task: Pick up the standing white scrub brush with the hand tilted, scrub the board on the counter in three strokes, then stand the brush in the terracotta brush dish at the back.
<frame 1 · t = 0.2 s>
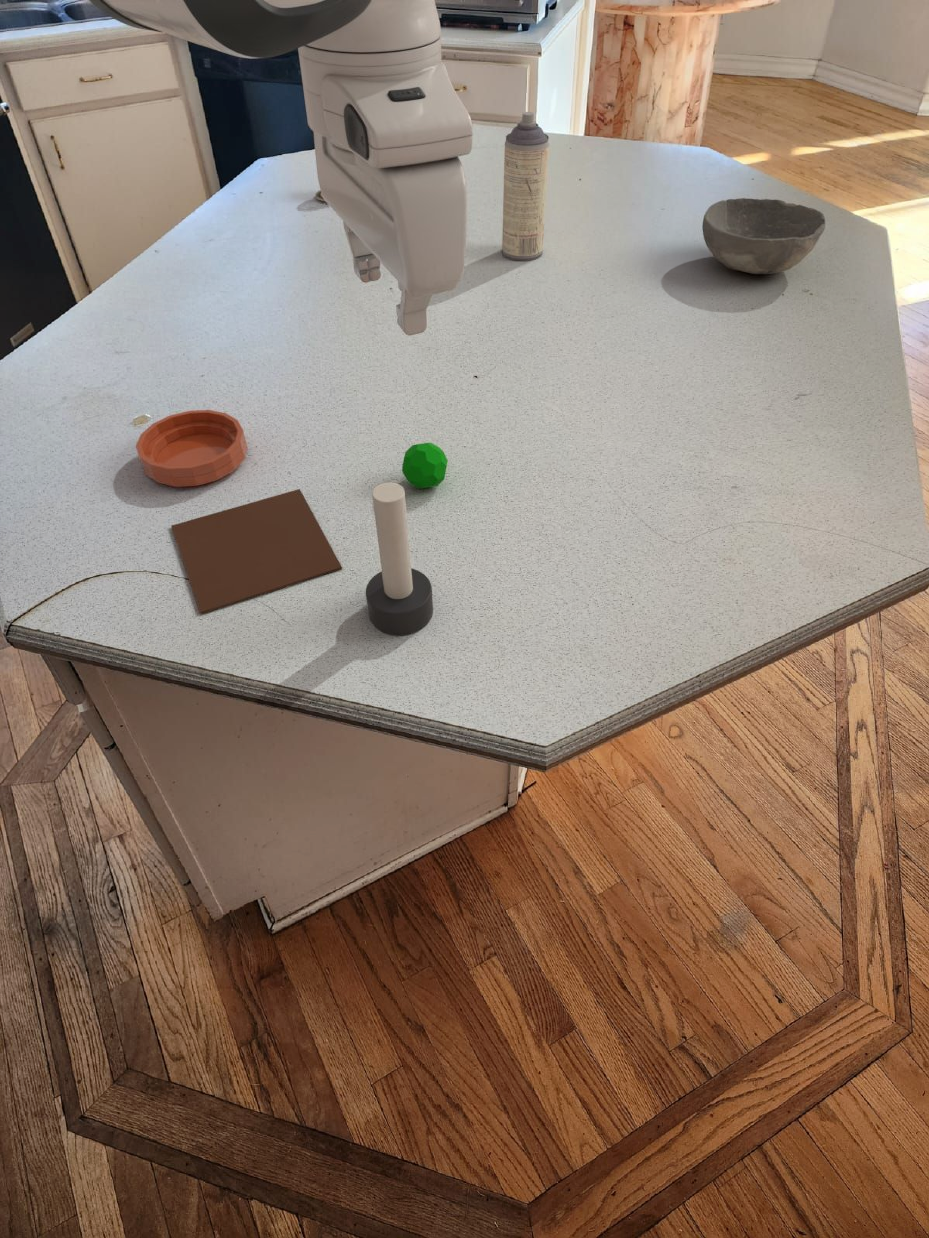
hand: (389, 303, 59), 25 cm above the table, tool pointing down, fingers open, 8 cm apart
aerosol can: (522, 254, 127), on the table
board: (254, 547, 77), on the table
apple: (336, 198, 146), on the table
brush: (401, 611, 71), on the table
polyhedron: (426, 485, 84), on the table
bowl: (750, 268, 122), on the table
brush dish: (197, 460, 88), on the table
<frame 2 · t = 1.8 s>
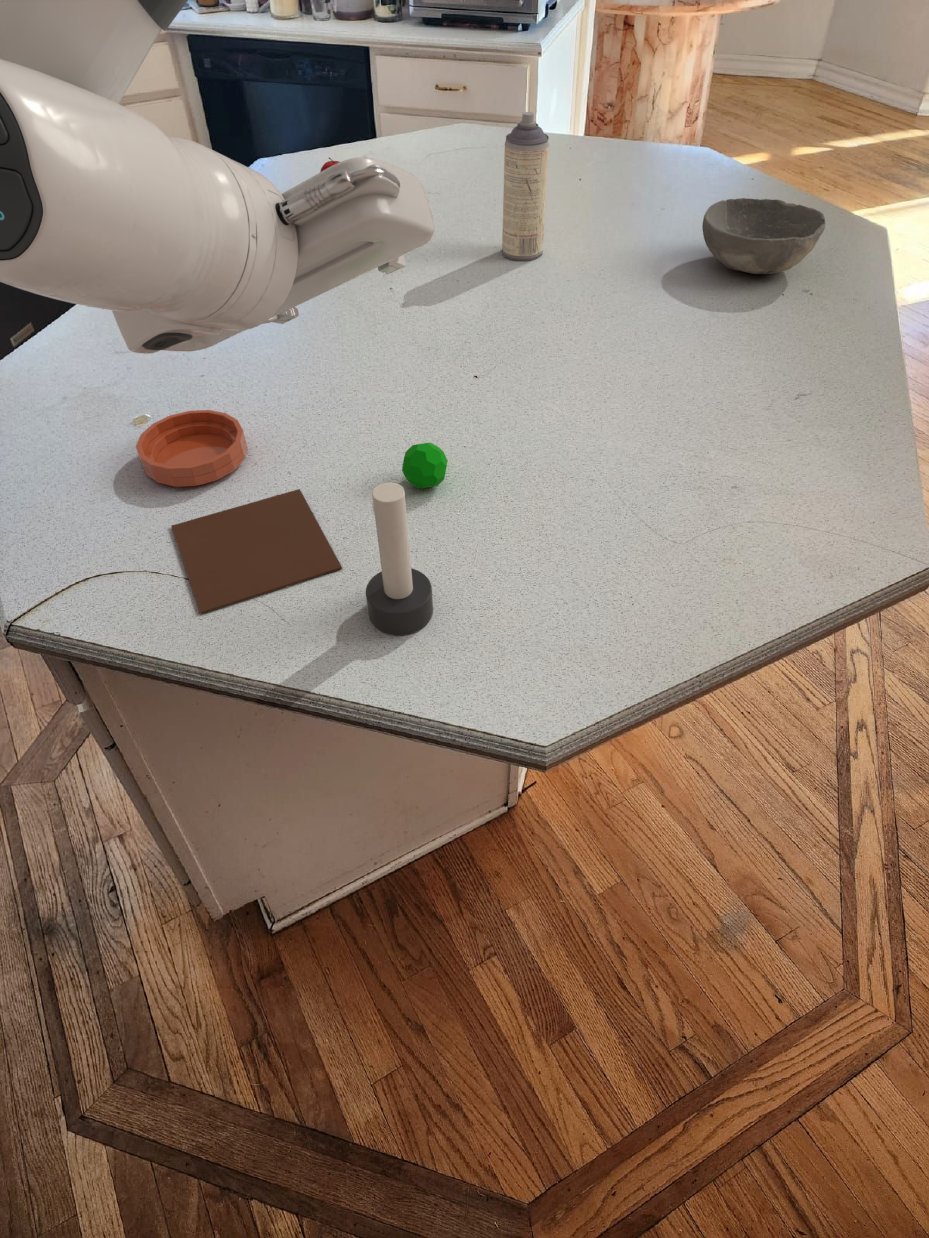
hand: (340, 285, 55), 28 cm above the table, tool tilted 60°, fingers open, 8 cm apart
nothing on the table moved.
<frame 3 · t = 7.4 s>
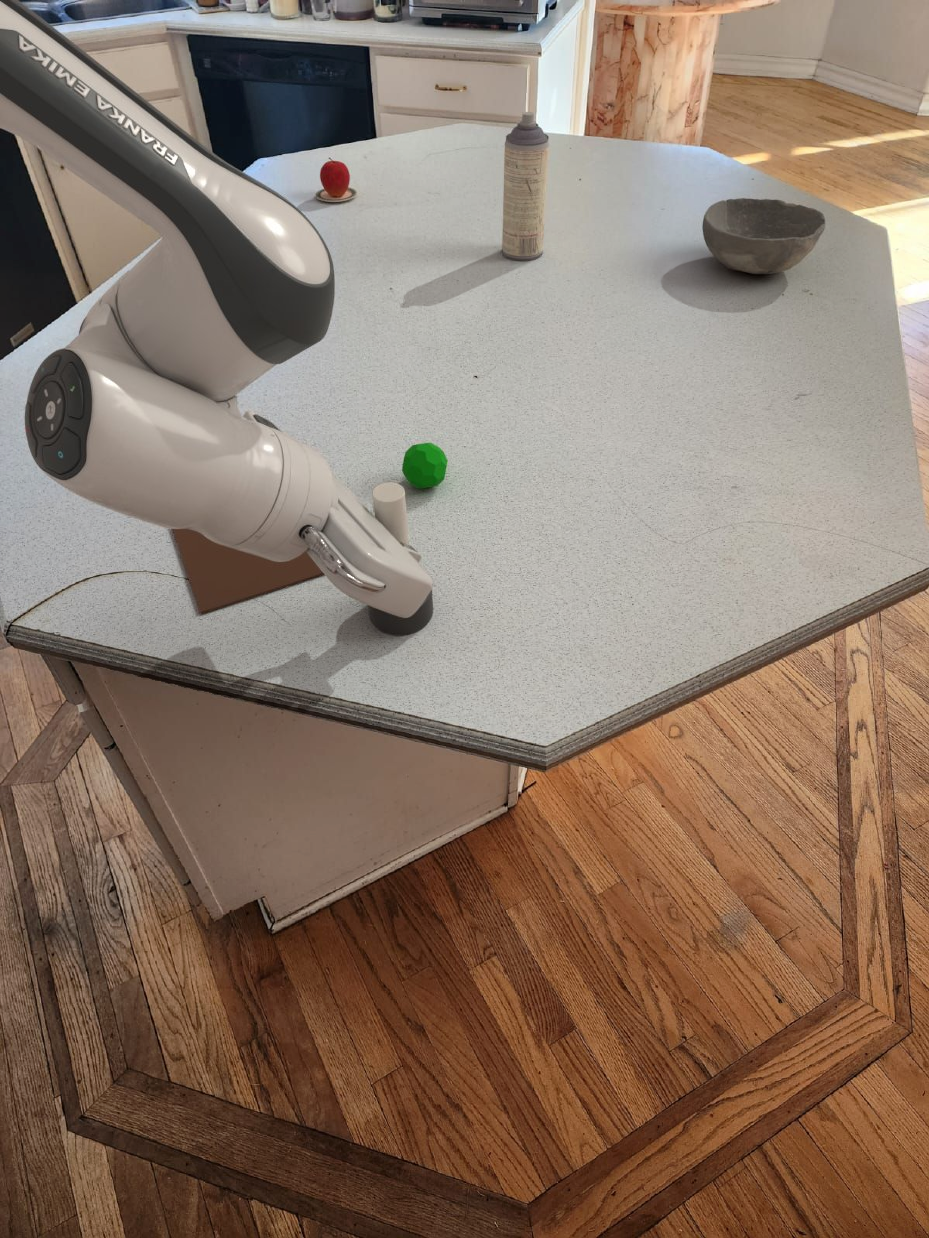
hand: (400, 547, 65), 8 cm above the table, tool tilted 45°, fingers closed on brush, 2 cm apart
brush: (401, 611, 71), on the table, touching gripper
everything else where it was.
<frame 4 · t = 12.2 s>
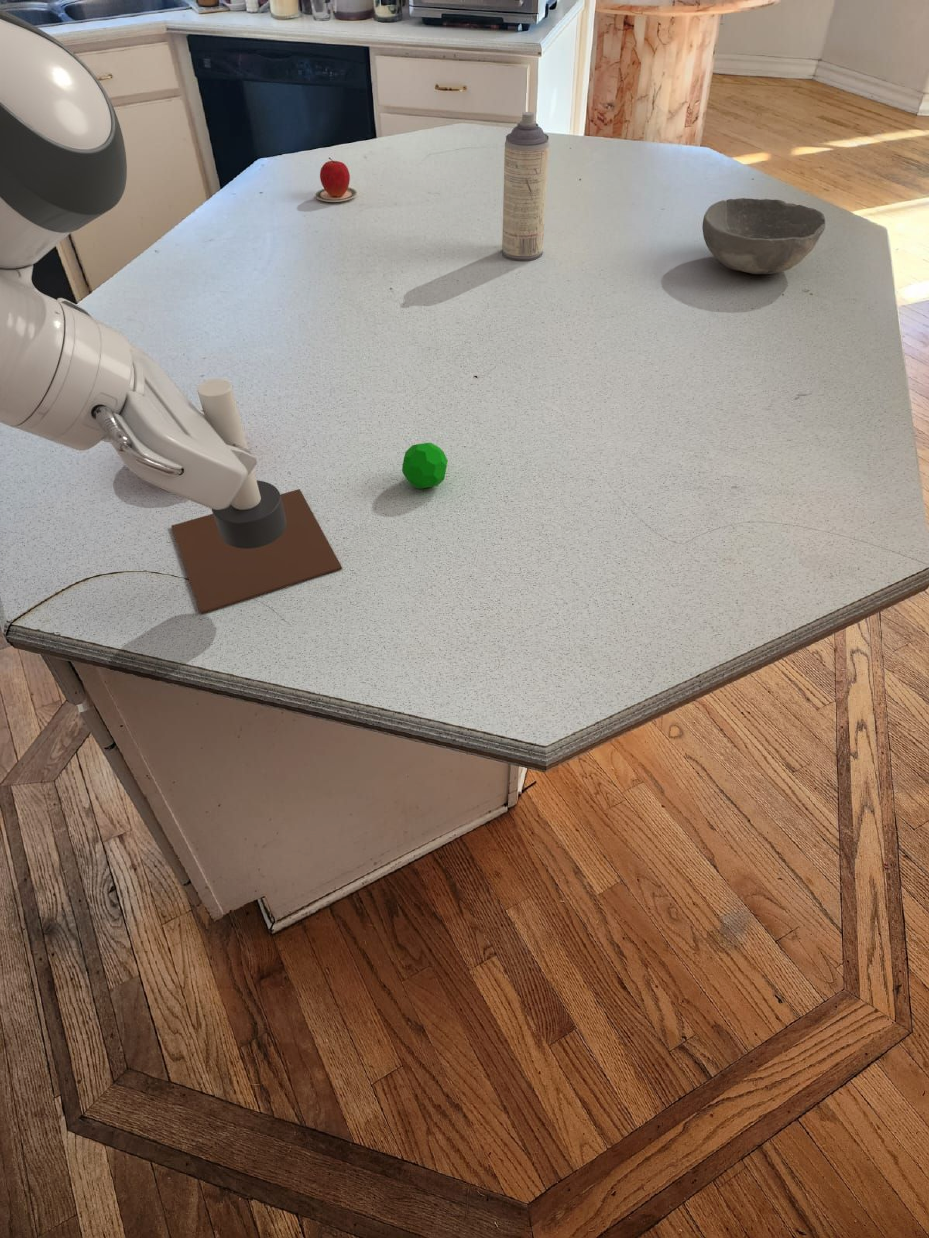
hand: (239, 452, 63), 15 cm above the table, tool tilted 45°, fingers closed on brush, 2 cm apart
brush: (253, 526, 68), point 7 cm above the table, touching gripper
everything else where it was.
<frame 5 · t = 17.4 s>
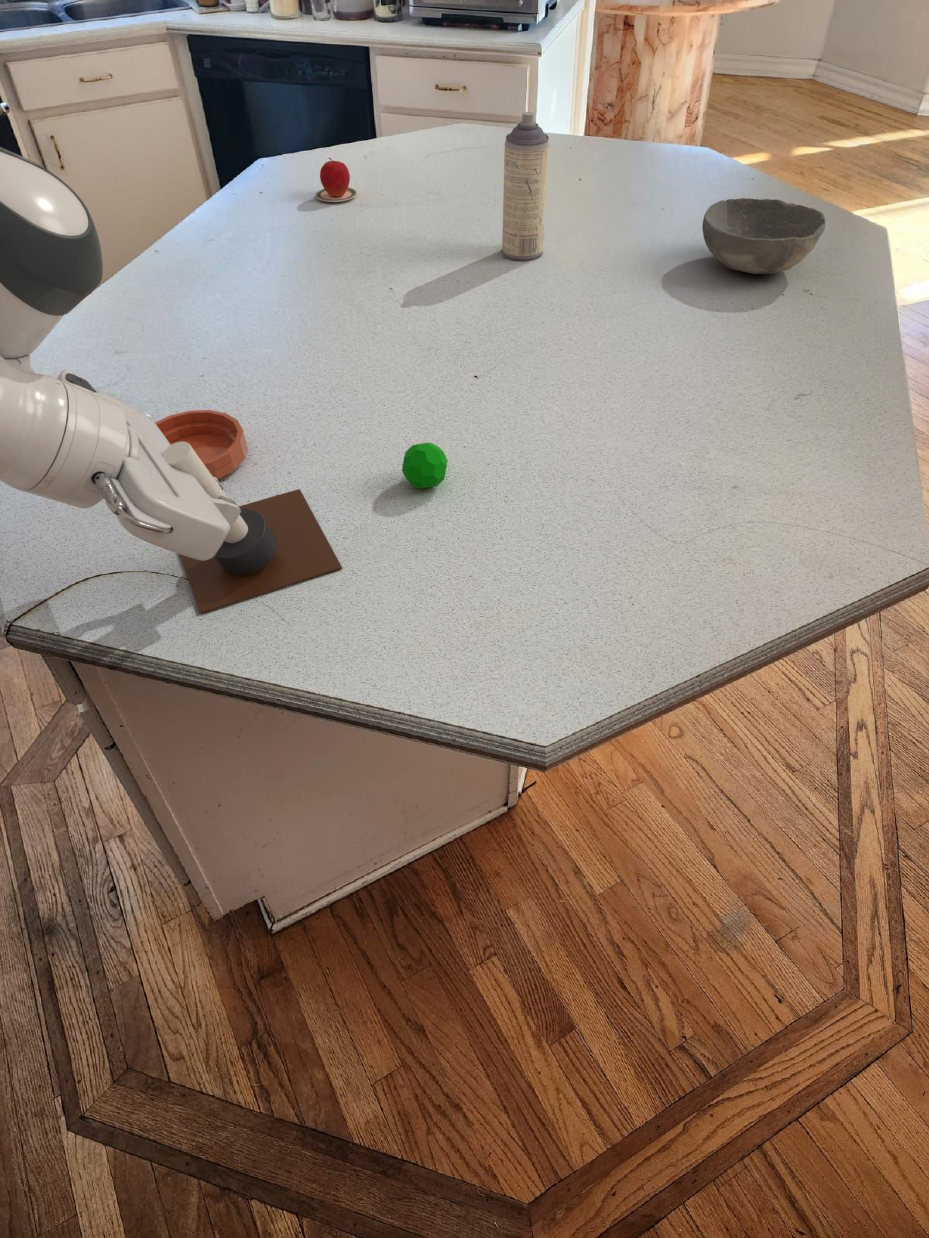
hand: (226, 501, 70), 8 cm above the table, tool tilted 45°, fingers closed on brush, 3 cm apart
brush: (249, 551, 75), point 1 cm above the table, tilted 15°, touching gripper, board
everything else where it was.
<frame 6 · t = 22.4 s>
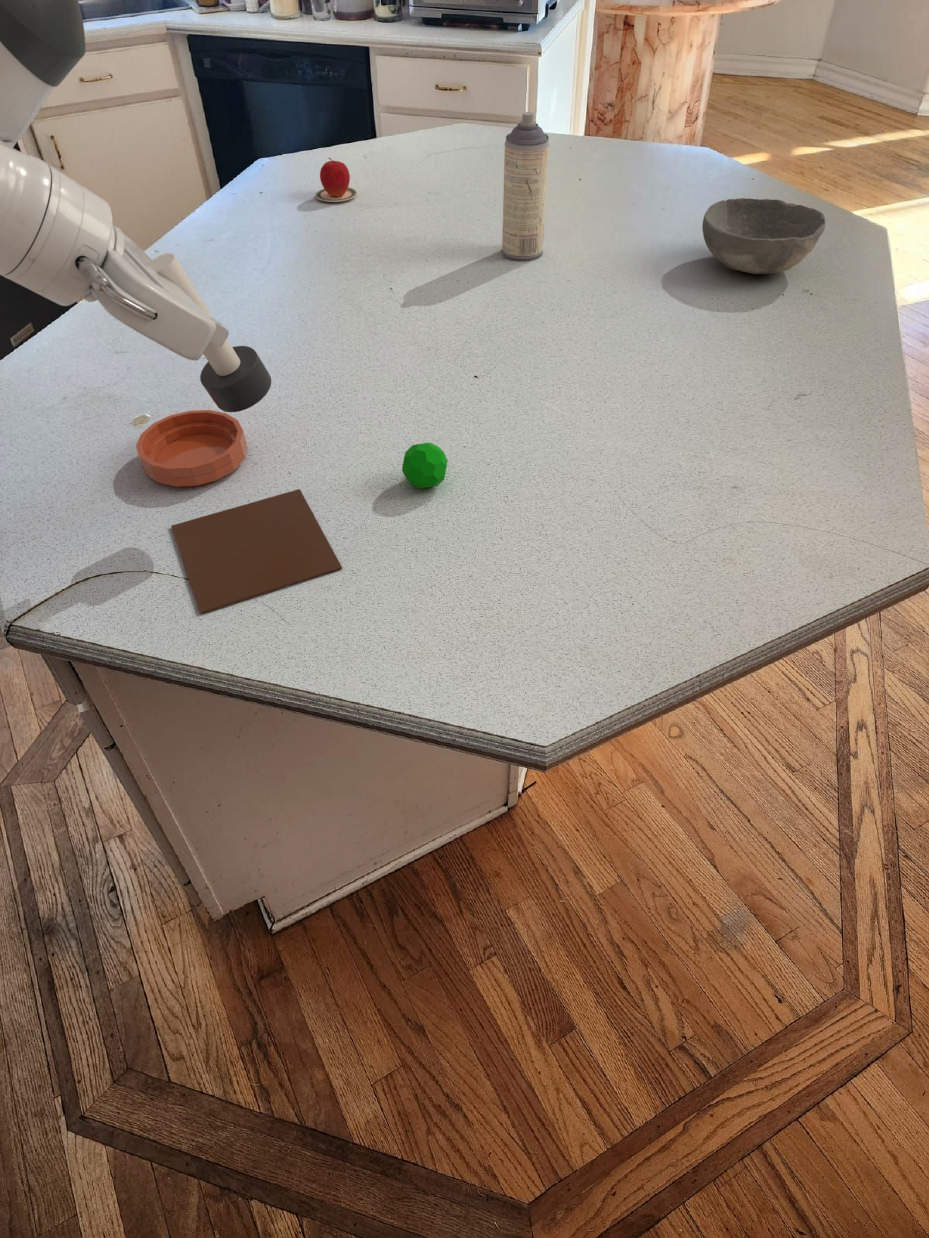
hand: (214, 328, 69), 19 cm above the table, tool tilted 45°, fingers closed on brush, 2 cm apart
brush: (243, 390, 75), point 12 cm above the table, tilted 18°, touching gripper
everything else where it was.
when the fingers open (8 cm above the table, at t = 27.4 s): brush stays where it is, resting on brush dish.
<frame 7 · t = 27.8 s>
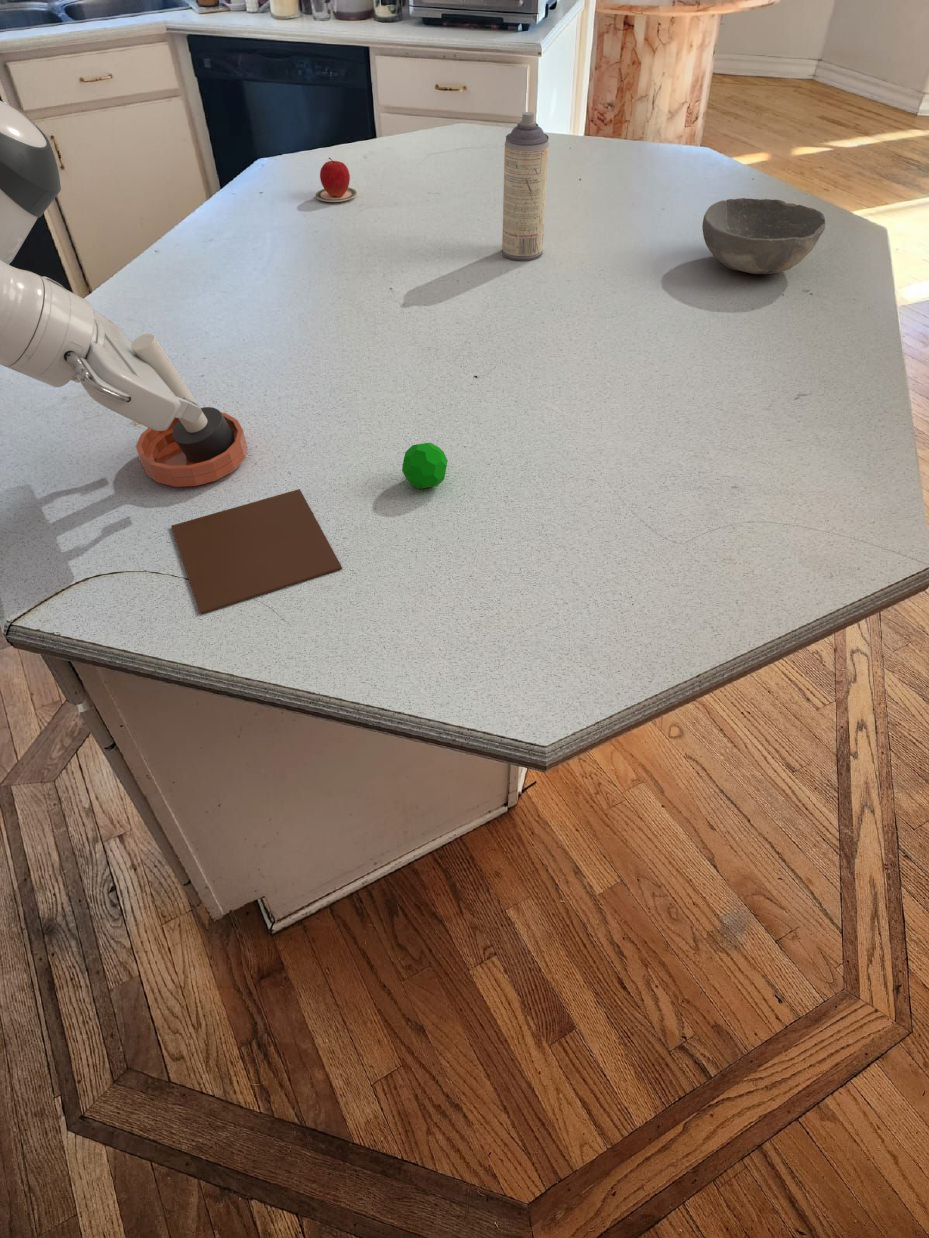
hand: (182, 396, 82), 8 cm above the table, tool tilted 45°, fingers open, 7 cm apart
brush: (209, 444, 87), point 1 cm above the table, tilted 14°, touching brush dish
everything else where it was.
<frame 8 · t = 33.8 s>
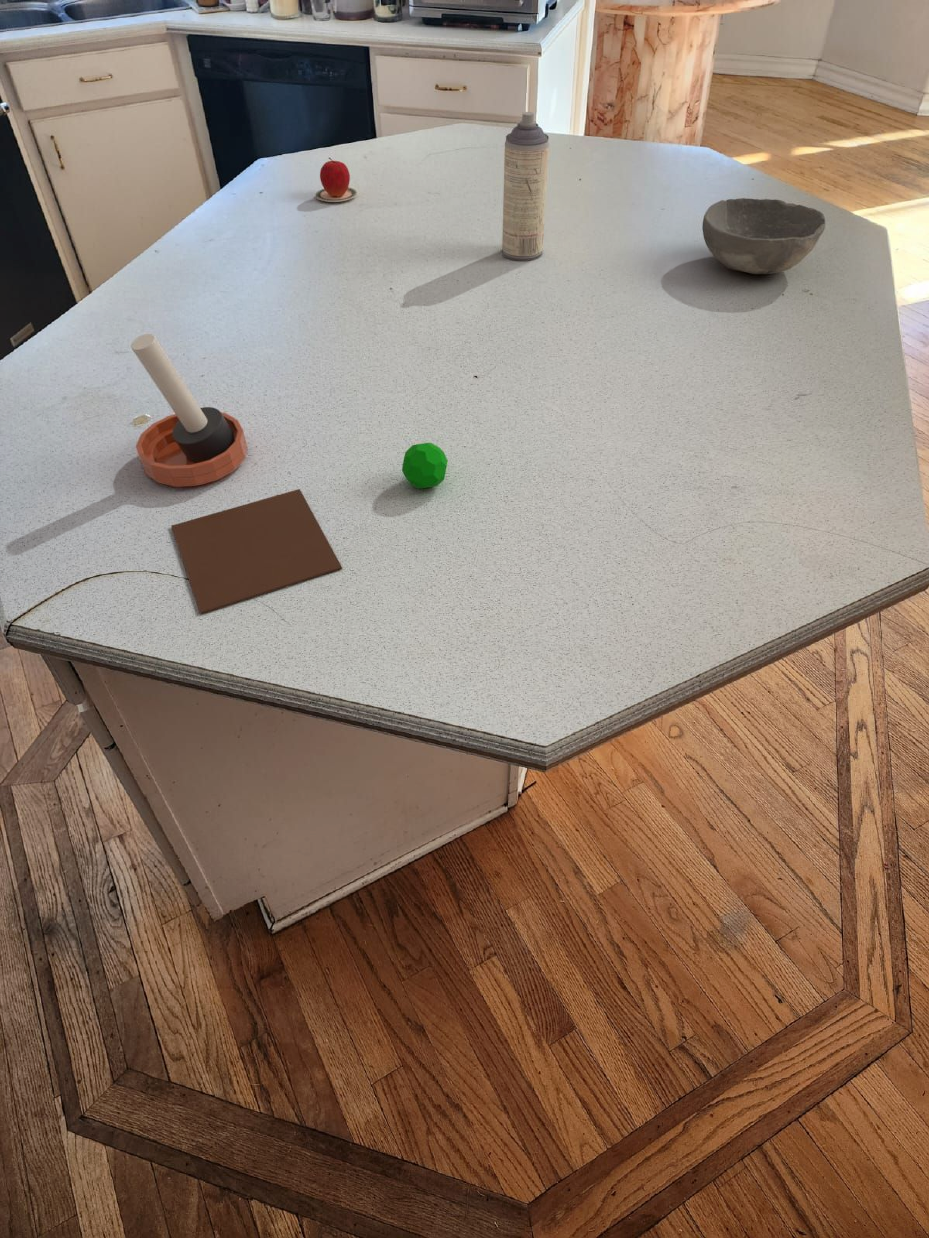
nothing on the table moved.
at the end: brush 1.9 cm off-centre in the brush dish, point 1.3 cm above the brush dish's base; brush tilted 14°; brush moved 34.8 cm from its start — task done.
